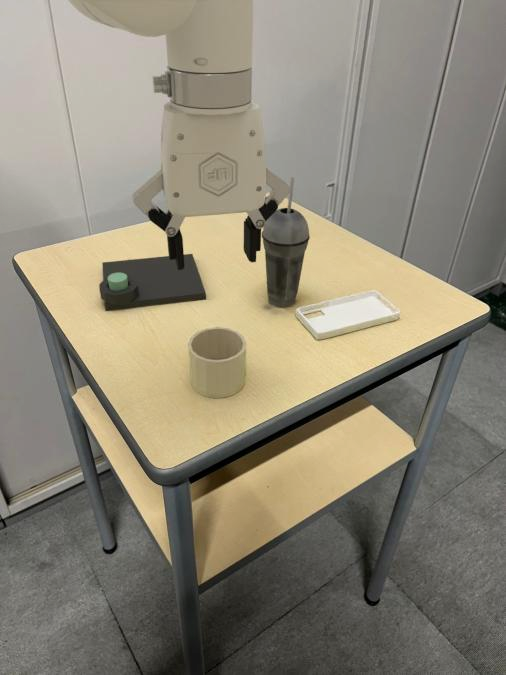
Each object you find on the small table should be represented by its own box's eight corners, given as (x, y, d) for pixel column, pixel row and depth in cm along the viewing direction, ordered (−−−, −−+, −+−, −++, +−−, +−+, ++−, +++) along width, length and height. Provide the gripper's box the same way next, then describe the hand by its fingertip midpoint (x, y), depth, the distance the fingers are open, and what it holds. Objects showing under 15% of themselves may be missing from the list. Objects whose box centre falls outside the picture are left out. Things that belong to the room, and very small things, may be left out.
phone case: (317, 341, 76) (401, 319, 81) (318, 333, 75) (402, 311, 80) (294, 315, 81) (373, 296, 86) (294, 307, 80) (375, 289, 85)
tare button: (109, 292, 81) (107, 282, 79) (108, 283, 83) (107, 273, 82) (129, 290, 81) (127, 280, 80) (127, 281, 83) (126, 271, 82)
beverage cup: (251, 304, 83) (254, 183, 72) (271, 284, 89) (277, 168, 77) (292, 317, 81) (302, 193, 69) (310, 295, 86) (322, 176, 74)
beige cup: (195, 402, 65) (193, 365, 61) (187, 366, 71) (184, 331, 67) (251, 393, 67) (252, 357, 63) (238, 359, 72) (238, 324, 69)
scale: (102, 312, 81) (99, 296, 79) (100, 268, 92) (98, 253, 90) (206, 300, 84) (206, 284, 82) (192, 259, 95) (191, 244, 94)
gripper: (115, 101, 43) (139, 285, 53) (313, 94, 46) (299, 268, 57) (112, 83, 49) (133, 252, 59) (288, 78, 52) (279, 238, 63)
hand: (215, 259), depth 58 cm, fingers open, 7 cm apart
